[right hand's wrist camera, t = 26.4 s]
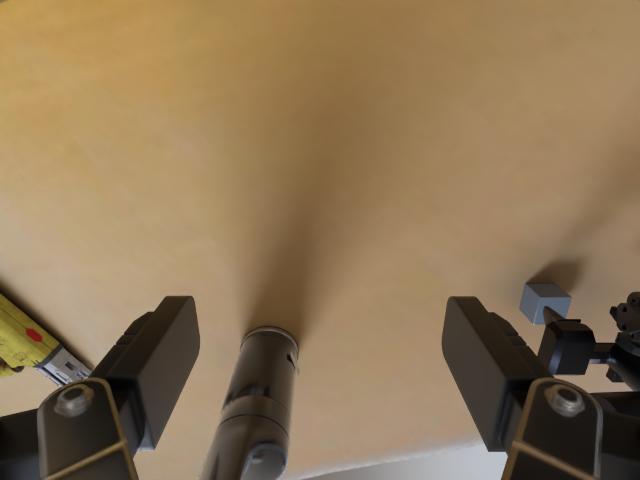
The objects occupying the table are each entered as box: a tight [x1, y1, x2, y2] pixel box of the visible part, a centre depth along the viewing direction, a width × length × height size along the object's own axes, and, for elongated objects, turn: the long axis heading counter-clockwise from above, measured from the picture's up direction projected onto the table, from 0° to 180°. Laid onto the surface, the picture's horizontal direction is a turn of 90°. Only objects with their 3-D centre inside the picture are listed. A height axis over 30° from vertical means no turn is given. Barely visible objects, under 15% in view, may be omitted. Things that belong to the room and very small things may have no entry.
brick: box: [520, 283, 572, 324], centre depth 55 cm, size 5×4×4 cm
